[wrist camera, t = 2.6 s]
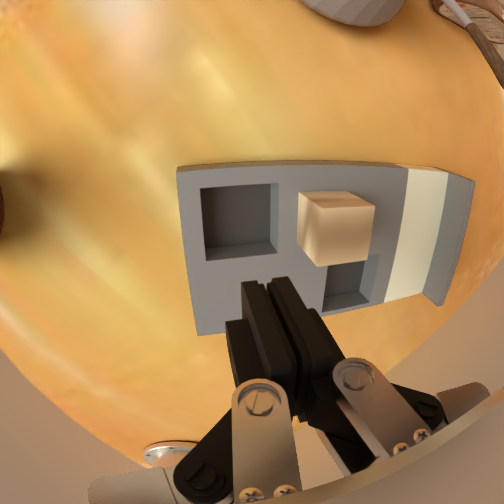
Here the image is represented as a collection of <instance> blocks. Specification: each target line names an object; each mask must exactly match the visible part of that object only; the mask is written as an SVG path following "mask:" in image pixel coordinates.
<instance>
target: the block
mask: <svg viewBox="0 0 504 504" xmlns="http://www.w3.org/2000/svg"><path fill="white" fill-rule="evenodd" d="M374 212H375V206H374V205H372V204H371V203H369V202H367V201H365V200H363V199H361V198H359V197H357V196H355V195H354V194H352V193H350V192H348V191H317V192H299V197H298V222H297V242H296V243H297V244H298V245H299V246H300V247H301V248H302V250H303V251H304V252H305V253H306V254H307V256H308V257H309V258H310V259H311V260H312V262H313V263H314V264H315V265H316V266H317V267H321V266H328V265H335V264H342V263H349V262H356V261H363V260H367V257H368V252H369V246H370V240H371V233H372V226H373V219H374Z"/></svg>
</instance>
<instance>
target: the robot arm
mask: <svg viewBox="0 0 504 504" xmlns="http://www.w3.org/2000/svg"><path fill="white" fill-rule="evenodd" d="M241 303H242V319H238V320H230V321H225V328H226V338H227V346H228V352H229V358H230V363H231V368H232V372H233V377H234V382H235V386H236V390H235V391H234V393H233V396H232V408H231V409H230V410H229V411H228V412H227V413H226V414H225V415H224V416H223V417H222V419H221V420H220V421H219V422H218V423H217V424H216V425H215V426H214V427H213V428H212V429H211V430H210V431H209V432H208V433H207V435H206V436H205V437H204V438H203V439H202V440H201V441H200V442H199V443H198V444H197V443H191V442H177V441H175V442H161V443H156V444H153V445H150V446H148V447H146V448H145V449H144V451H143V458H144V460H145V461H146V462H147V463H149V464H150V465H152V468H151V469H147V470H141V471H136V472H130V473H124V474H118V475H111V476H103V477H99V478H97V479H95V480H94V481H93V482H91V484H90V486H89V488H88V498H89V502H90V504H233V503H234V504H504V387H502V388H501V389H499V390H497V391H496V392H494V393H493V394H491V395H490V393H489V392H488V389H487V388H486V387H485V386H484V385H482V384H481V383H477V382H474V383H470V384H467V385H463V386H460V387H457V388H453V389H450V390H446V391H442V392H439V393H436V395H435V396H432V395H430V394H426V393H423V392H420V391H416V390H412V389H409V388H405V387H402V386H399V385H396V384H393V383H390V382H389V381H388V380H387V379H386V378H385V377H384V375H383V374H382V373H381V372H380V371H379V370H378V369H377V368H376V367H375V366H374V365H373V364H372V363H371V362H369V361H367V360H365V359H361V358H348V359H346V358H345V356H344V355H343V353H342V351H341V350H340V348H339V347H338V345H337V343H336V342H335V340H334V338H333V337H332V335H331V333H330V332H329V330H328V328H327V327H326V325H325V323H324V322H323V320H322V319H321V317H320V315H319V314H318V312H317V311H316V309H314V308H309V309H307V307H306V306H305V304H304V302H303V301H302V299H301V297H300V295H299V294H298V292H297V290H296V289H295V287H294V285H293V284H292V282H291V280H290V278H289V277H288V276H284V277H277V278H272V280H271V282H269V283H267V286H266V288H265V286H264V284H263V283H261V284H258V281H257V280H253V281H244V282H241ZM296 415H297V416H298V419H299V421H300V423H301V422H305V421H307V422H308V424H309V426H312V427H314V428H315V429H316V432H317V434H318V436H319V438H320V439H321V441H322V442H323V444H324V445H325V447H326V448H327V450H328V452H329V453H330V455H331V456H332V458H333V459H334V461H335V462H336V464H337V465H338V467H339V469H340V470H341V472H342V473H343V475H344V476H345V477H344V478H342V479H339V480H336V481H333V482H330V483H327V484H324V485H321V486H318V487H314V488H311V489H308V490H304V491H302V484H301V478H300V472H299V466H298V459H297V453H296V447H295V441H294V435H293V429H292V419H293V416H296Z"/></svg>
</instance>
